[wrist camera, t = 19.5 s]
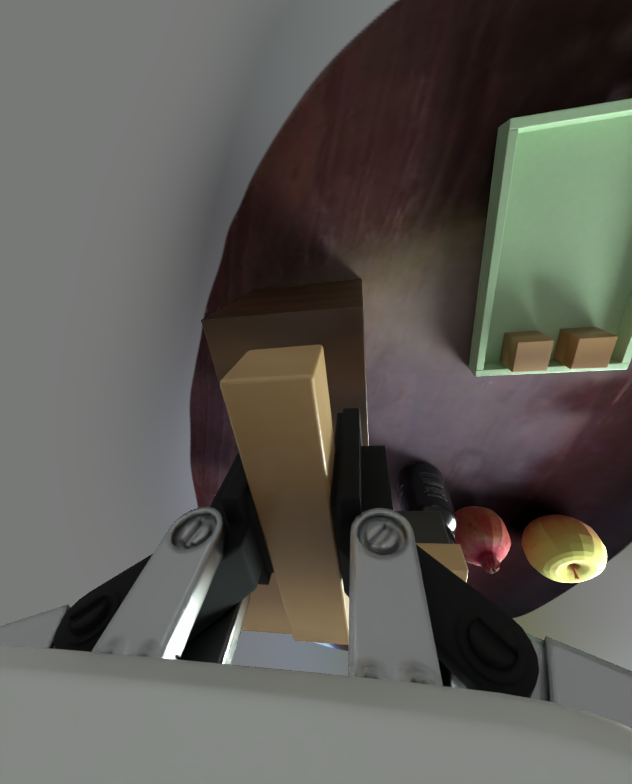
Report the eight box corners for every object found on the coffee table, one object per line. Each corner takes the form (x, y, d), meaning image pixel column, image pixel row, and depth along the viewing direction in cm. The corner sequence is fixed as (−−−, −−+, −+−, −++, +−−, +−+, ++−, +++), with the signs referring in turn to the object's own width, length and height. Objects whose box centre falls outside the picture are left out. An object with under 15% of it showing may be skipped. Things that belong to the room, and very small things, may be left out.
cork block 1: (504, 332, 36) (517, 342, 32) (537, 330, 35) (554, 339, 32) (499, 360, 37) (511, 372, 34) (531, 359, 37) (547, 371, 34)
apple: (528, 553, 52) (555, 603, 45) (502, 519, 50) (526, 567, 43) (592, 533, 49) (632, 584, 42) (568, 494, 46) (606, 543, 39)
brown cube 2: (559, 328, 35) (579, 338, 32) (595, 326, 34) (618, 335, 31) (552, 357, 36) (570, 369, 33) (585, 356, 36) (607, 368, 33)
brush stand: (252, 289, 37) (200, 319, 25) (361, 278, 35) (362, 306, 23) (273, 398, 44) (241, 464, 32) (366, 394, 42) (369, 463, 30)
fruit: (453, 488, 48) (475, 546, 39) (505, 499, 48) (538, 560, 39) (435, 522, 52) (451, 582, 43) (483, 532, 51) (509, 595, 43)
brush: (441, 579, 17) (482, 748, 12) (259, 571, 19) (217, 715, 13) (467, 288, 10) (599, 356, 5) (177, 318, 12) (17, 394, 6)
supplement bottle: (387, 474, 48) (395, 543, 38) (425, 453, 45) (445, 521, 35) (413, 500, 50) (428, 573, 39) (451, 481, 47) (478, 554, 37)
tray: (497, 127, 28) (510, 118, 26) (702, 93, 25) (736, 80, 23) (468, 367, 39) (475, 376, 36) (610, 360, 36) (627, 369, 34)
